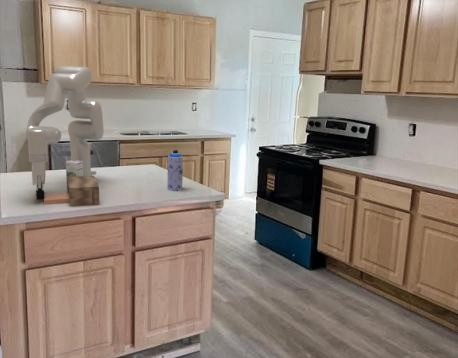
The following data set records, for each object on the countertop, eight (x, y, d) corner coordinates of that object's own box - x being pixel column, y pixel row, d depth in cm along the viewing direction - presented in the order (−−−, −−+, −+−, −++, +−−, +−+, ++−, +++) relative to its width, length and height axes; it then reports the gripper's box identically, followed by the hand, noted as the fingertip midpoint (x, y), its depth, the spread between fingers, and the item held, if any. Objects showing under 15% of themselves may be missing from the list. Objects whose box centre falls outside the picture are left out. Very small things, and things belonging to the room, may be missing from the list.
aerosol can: (179, 191, 220) (180, 151, 216) (164, 190, 222) (165, 150, 217) (184, 188, 228) (185, 149, 223) (170, 186, 229) (170, 148, 225)
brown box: (70, 206, 188) (69, 188, 186) (67, 193, 208) (67, 176, 206) (99, 204, 193) (98, 186, 191) (94, 192, 212) (93, 175, 211)
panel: (44, 205, 189) (44, 199, 189) (44, 199, 198) (44, 194, 198) (78, 203, 194) (78, 198, 194) (77, 197, 203) (77, 192, 203)
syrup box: (84, 189, 216) (83, 160, 213) (76, 192, 210) (75, 162, 207) (74, 188, 218) (73, 159, 214) (66, 191, 212) (65, 161, 209)
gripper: (29, 155, 195) (31, 195, 199) (28, 161, 181) (30, 204, 185) (47, 154, 198) (49, 194, 202) (47, 160, 184) (49, 203, 188)
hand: (40, 199), depth 193 cm, fingers closed
